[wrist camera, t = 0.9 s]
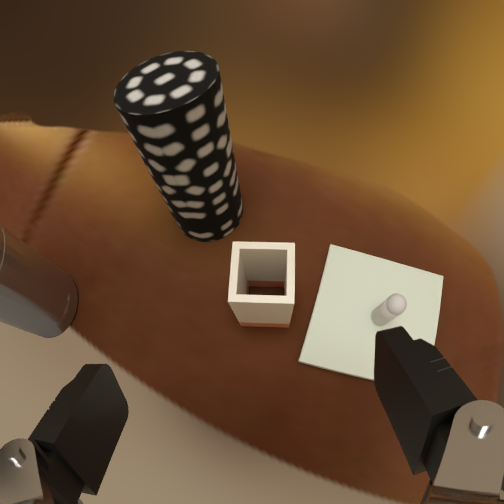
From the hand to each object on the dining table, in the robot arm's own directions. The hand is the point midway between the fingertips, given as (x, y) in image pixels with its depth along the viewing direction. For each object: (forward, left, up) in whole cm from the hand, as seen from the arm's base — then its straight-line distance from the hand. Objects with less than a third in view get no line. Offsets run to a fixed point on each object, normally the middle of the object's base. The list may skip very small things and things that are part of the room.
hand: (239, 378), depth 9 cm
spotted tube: (-12, +17, -25) cm, 32 cm away
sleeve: (-2, +8, -24) cm, 26 cm away
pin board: (+10, +10, -24) cm, 28 cm away
